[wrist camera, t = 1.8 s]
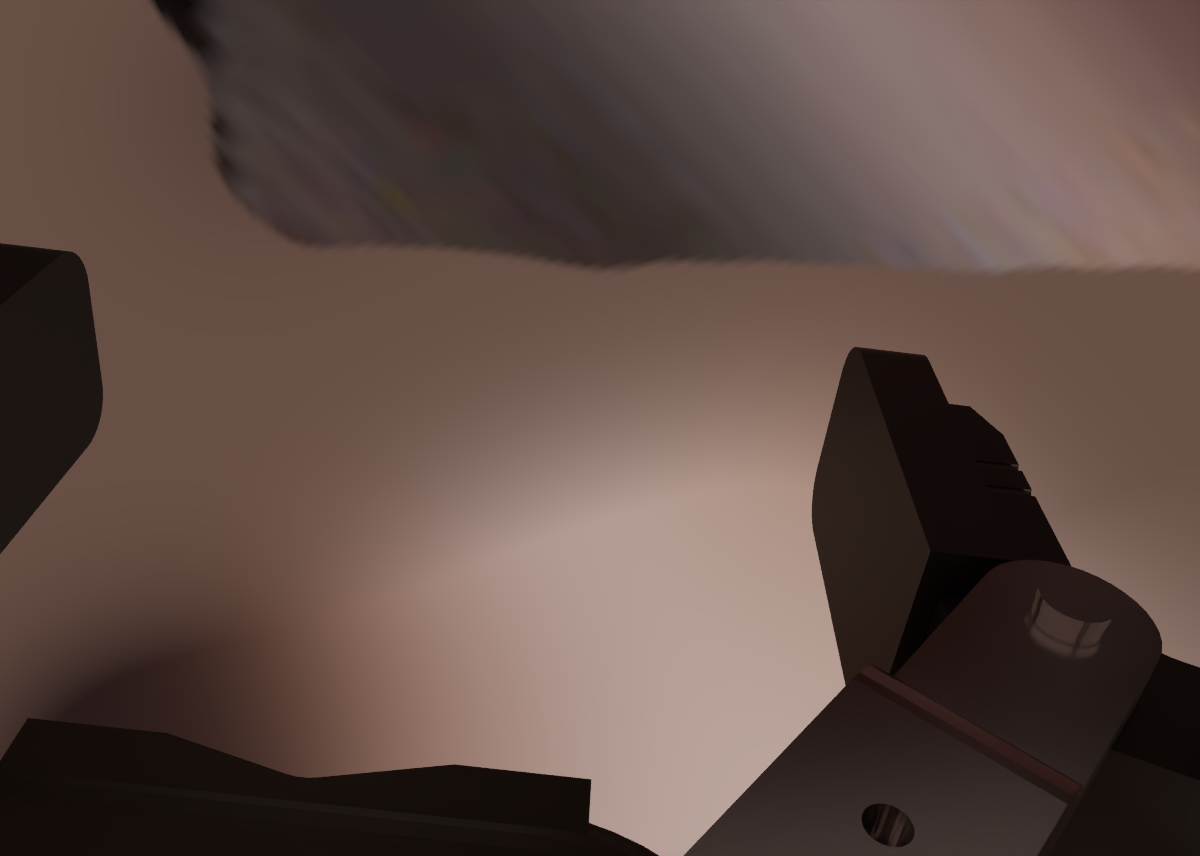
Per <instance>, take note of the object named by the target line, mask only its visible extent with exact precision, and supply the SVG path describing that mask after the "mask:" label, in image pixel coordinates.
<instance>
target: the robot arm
mask: <svg viewBox="0 0 1200 856" xmlns="http://www.w3.org/2000/svg"><path fill="white" fill-rule="evenodd" d="M102 402H103V387H102V378H101V371H100V364H99V357H98V350H97V342H96V335H95V328H94V320H93V313H92V305H91V297H90V291H89V283H88V277H87V273H86V269H85V267H84V264H83V262H82V260H81V259H80V257H79V256H78V255H77V254H75V253H73V252H68V251H61V250H52V249H43V248H35V247H26V246H19V245H10V244H2V243H0V554H1V552H2V551H3V550H4V549H5V548H6V546H7V545H8V544H9V542H10V541H11V540H12V539H13V538H14V537H15V535H16V534H17V533H18V532H19V530H20V529H21V528H22V527H23V525H24V524H25V523H26V522H27V521H28V519H29V518H30V517H31V516H32V514H33V513H34V512H35V511H36V509H37V508H38V507H39V506H40V505H41V503H42V502H43V501H44V500H45V498H46V497H47V496H48V495H49V494H50V492H51V491H52V490H53V489H54V487H55V486H56V485H57V484H58V483H59V481H60V480H61V479H62V478H63V476H64V475H65V474H66V473H67V471H68V470H69V469H70V468H71V467H72V465H73V464H74V463H75V461H76V460H77V459H78V458H79V457H80V455H81V454H82V453H83V452H84V451H85V449H86V448H87V447H88V446H89V444H90V443H91V441H92V439H93V437H94V435H95V433H96V430H97V428H98V424H99V421H100V416H101V411H102ZM1018 466H1019V465H1018V463H1017V461H1016V459H1015V457H1014V455H1013V453H1012V451H1011V449H1010V447H1009V445H1008V443H1007V441H1006V439H1005V438H1004V436H1003V434H1002V433H1000V432H999V431H998V430H997V429H996V428H994V427H993V426H992V425H990V423H988V422H987V421H986V420H985V419H984V418H983V417H982V416H980V415H979V414H978V413H977V412H976V411H975V410H973V409H972V408H971V407H970V406H962V405H953V404H949V403H948V401H947V399H946V397H945V395H944V393H943V390H942V388H941V386H940V384H939V382H938V379H937V377H936V375H935V373H934V371H933V368H932V366H931V364H930V362H929V360H928V358H927V357H926V356H925V355H919V354H910V353H902V352H893V351H885V350H876V349H868V348H860V347H854V348H853V349H852V350H851V351H850V352H849V354H848V356H847V358H846V361H845V364H844V367H843V370H842V374H841V378H840V382H839V386H838V390H837V394H836V397H835V402H834V405H833V409H832V413H831V418H830V421H829V425H828V429H827V433H826V437H825V440H824V445H823V448H822V452H821V456H820V460H819V464H818V468H817V472H816V477H815V482H814V490H813V499H812V525H813V532H814V537H815V541H816V546H817V551H818V556H819V560H820V565H821V570H822V575H823V580H824V584H825V589H826V594H827V599H828V603H829V608H830V613H831V618H832V623H833V627H834V632H835V637H836V642H837V646H838V651H839V656H840V660H841V666H842V670H843V675H844V680H845V685H846V686H845V687H844V688H843V689H842V690H841V692H840V693H839V694H838V695H837V696H836V697H835V698H834V699H833V700H832V701H831V702H830V703H829V704H828V705H827V706H826V707H825V708H824V709H823V710H822V711H821V712H820V713H819V715H818V716H817V717H816V718H815V719H814V720H813V721H812V722H811V723H810V724H809V725H808V726H807V727H806V728H805V729H804V730H803V731H802V732H801V734H799V735H798V737H797V738H796V739H795V740H794V741H793V742H792V743H791V744H790V745H789V746H788V747H787V748H786V749H785V750H784V751H783V752H782V753H781V754H780V755H779V756H778V757H777V758H776V760H775V761H774V762H773V763H772V764H771V765H770V766H769V767H768V768H767V769H766V770H765V771H764V772H763V773H762V774H761V775H760V776H759V777H758V778H757V780H756V781H755V782H754V783H753V784H752V785H751V786H750V787H749V788H748V789H747V790H746V791H745V792H744V793H743V794H742V795H741V796H740V797H739V798H738V799H737V800H736V802H734V803H733V804H732V806H731V807H730V808H729V809H728V810H727V811H726V812H725V813H724V814H723V815H722V816H721V817H720V818H719V819H718V820H717V821H716V822H715V823H714V825H712V827H711V828H710V829H709V830H708V831H707V832H706V833H705V834H704V835H703V836H702V837H701V838H700V839H699V840H698V841H697V842H696V843H695V844H694V845H693V846H692V847H691V849H689V851H688V852H687V853H686V854H685V855H684V856H1200V668H1199V667H1196V666H1193V665H1190V664H1187V663H1184V662H1182V661H1179V660H1176V659H1174V658H1171V657H1169V656H1167V655H1164V654H1162V653H1161V652H1162V640H1161V637H1160V633H1159V631H1158V629H1157V627H1156V625H1155V623H1154V622H1153V620H1152V619H1151V618H1150V616H1149V615H1148V614H1147V612H1146V611H1145V610H1144V609H1143V608H1142V607H1141V606H1140V605H1139V604H1138V603H1137V602H1136V601H1134V600H1133V599H1132V598H1131V597H1129V596H1128V595H1127V594H1126V593H1124V592H1123V591H1121V590H1120V589H1118V588H1117V587H1115V586H1113V585H1112V584H1110V583H1108V582H1106V581H1105V580H1103V579H1101V578H1099V577H1097V576H1094V575H1092V574H1090V573H1088V572H1085V571H1083V570H1080V569H1077V568H1074V567H1071V565H1070V563H1069V561H1068V559H1067V557H1066V555H1065V553H1064V551H1063V549H1062V547H1061V545H1060V544H1059V542H1058V540H1057V538H1056V536H1055V534H1054V532H1053V530H1052V528H1051V526H1050V524H1049V523H1048V521H1047V518H1046V517H1045V515H1044V513H1043V511H1042V509H1041V507H1040V505H1039V503H1038V501H1037V499H1036V497H1035V496H1031V491H1032V490H1031V488H1030V486H1029V484H1028V482H1027V480H1026V478H1025V476H1024V474H1023V472H1022V471H1018ZM590 791H591V779H581V778H573V777H562V776H554V775H545V774H535V773H527V772H517V771H508V770H499V769H490V768H481V767H472V766H463V765H444V766H434V767H423V768H413V769H402V770H392V771H383V772H371V773H361V774H350V775H340V776H329V777H319V778H303V777H295V776H291V775H288V774H285V773H282V772H278V771H276V770H273V769H270V768H267V767H264V766H261V765H258V764H255V763H253V762H250V761H246V760H244V759H241V758H238V757H235V756H232V755H229V754H226V753H223V752H220V751H218V750H215V749H211V748H209V747H206V746H203V745H200V744H197V743H194V742H191V741H188V740H186V739H183V738H180V737H177V736H174V735H171V734H168V733H160V732H151V731H142V730H132V729H123V728H113V727H105V726H95V725H86V724H76V723H68V722H59V721H49V720H40V719H31V718H28V719H27V721H26V722H25V724H24V725H23V727H22V728H21V730H20V731H19V733H18V734H17V736H16V737H15V739H14V741H13V742H12V744H11V745H10V747H9V748H8V750H7V751H6V753H5V754H4V756H3V758H2V759H1V761H0V856H659V855H657V854H655V853H654V852H652V851H650V850H649V849H647V848H645V847H644V846H642V845H640V844H638V843H636V842H633V841H631V840H629V839H627V838H625V837H623V836H621V835H619V834H616V833H614V832H612V831H609V830H607V829H604V828H601V827H598V826H596V825H593V824H590V823H589V807H590Z"/></svg>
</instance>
